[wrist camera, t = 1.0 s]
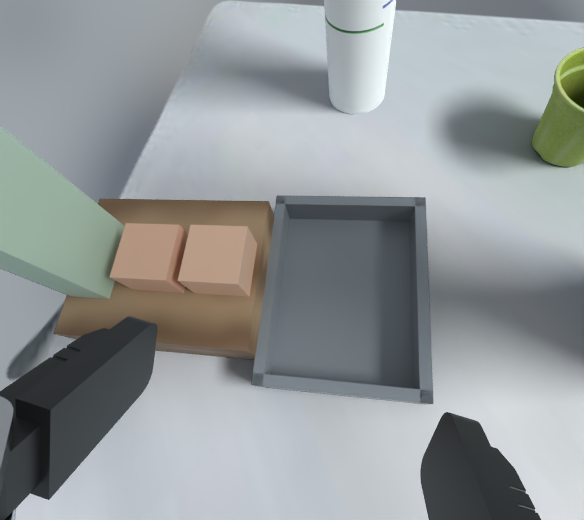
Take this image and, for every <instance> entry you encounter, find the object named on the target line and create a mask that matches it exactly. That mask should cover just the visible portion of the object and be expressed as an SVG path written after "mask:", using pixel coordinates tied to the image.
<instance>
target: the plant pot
mask: <svg viewBox="0 0 584 520" xmlns="http://www.w3.org/2000/svg"><path fill="white" fill-rule="evenodd" d="M552 92H553V93H552V95H551V97H550V100H549V102H548V104H547V106H546V109H545V111H544V113H543V116H542V118H541V120H540V122H539V124H538V126H537V128H536V130H535V133H534V135H533V137H532V146H533V148H534V150H536V151H537V152H538V153H539V154H540V156H541V157H542V159H543V160H545V161H546V162H548V163H551V164H553V165H557V166H563V167H572V166H576V165H578V164H581V163H584V47H583V48H580V49H577V50H575V51H573V52H571V53H570V54H568V55H567V56H565V57H564V58H563V59H562V60H561V62H560V63H559V65H558V66H557V68H556V71H555V75H554V85H553V91H552Z"/></svg>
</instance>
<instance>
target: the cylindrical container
mask: <svg viewBox="0 0 584 520" xmlns="http://www.w3.org/2000/svg"><path fill="white" fill-rule="evenodd" d="M324 5H325V24H326V42H327V61H328V80H329V97H330V101H331V103H332V105H333V106H334V107H335V108H336V109H338V110H339V111H341V112H344V113H347V114H362V113H366V112H369V111H371V110H373V109H375V108H376V107H377V106H378V105H379V104H380V103H381V102H382V100H383V98H384V95H385V87H386V79H387V71H388V62H389V54H390V46H391V38H392V30H393V22H394V14H395V6H396V0H324Z"/></svg>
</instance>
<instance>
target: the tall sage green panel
mask: <svg viewBox="0 0 584 520" xmlns="http://www.w3.org/2000/svg"><path fill="white" fill-rule="evenodd" d="M124 227H125V226H124V225H123V224H122V223H120V222H119V221H118V220H117V219H115V218H114V217H113V216H112V215H110V214H109V213H108V212H107V211H106V210H104V209H103V208H102V207H101V206H99V205H98V204H97V203H96V202H94V201H93V200H92V199H91V198H89V197H88V196H87V195H86V194H84V193H83V192H82V191H81V190H79V189H78V188H77V187H76V186H74V185H73V184H72V183H71V182H70V181H68V180H67V179H66V178H65V177H63V176H62V175H61V174H60V173H58V172H57V171H56V170H55V169H53V168H52V167H51V166H50V165H48V164H47V163H46V162H45V161H43V160H42V159H41V158H40V157H38V156H37V155H36V154H35V153H34V152H32V151H31V150H30V149H29V148H27V147H26V146H25V145H24V144H22V143H21V142H20V141H19V140H18V139H16V138H15V137H14V136H13V135H11V134H10V133H9V132H8V131H6V130H5V129H4V128H3V127H1V126H0V269H3V270H5V271H8V272H10V273H13V274H15V275H18V276H20V277H23V278H25V279H28V280H31V281H33V282H36V283H38V284H41V285H43V286H46V287H48V288H51V289H53V290H56V291H59V292H61V293H64V294H66V295H69V296H72V297H87V298H101V299H110V296H111V293H112V289H113V286H114V283H115V280H114V279H112V278H110V273H111V270H112V267H113V264H114V260H115V257H116V254H117V250H118V247H119V244H120V241H121V237H122V234H123V231H124Z"/></svg>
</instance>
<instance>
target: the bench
mask: <svg viewBox="0 0 584 520" xmlns="http://www.w3.org/2000/svg"><path fill="white" fill-rule="evenodd" d="M98 205H99V206H101V207H102V208H103V209H104V210H106V211H107V212H108V213H109V214H110V215H112V216H113V217H114V218H115V219H117V220H118V221H119V222H120V223H122V224H123V225H124V226H125V224H126V223H137V224H172V225H180V226H181V227H182V228H183V229H184V230H185V232H186V233H187V234H189V229H190V225H219V226H248V228H249V230H250V232H251V233H252V235H253V237H254V239H255V241H256V242H257V249H256V256H255V263H254V269H253V276H252V283H251V289H250V296H249V297H245V296H229V295H213V294H197V293H194V292H192V291H191V290H190V289H188V288H187V287H185V290H184V293H175V292H160V291H144V290H132V289H130V288H128V287H127V286H125V285H123V284H121V283H119V282H117V281H115V283H114V286H113V289H112V293H111V296H110V299H101V298H87V297H72V296H69V295H67V297H66V299H65V302H64V305H63V308H62V311H61V314H60V317H59V320H58V323H57V325H56V328H55V331H54V334H57V335H61V336H65V337H69V338H74V339H78V338H79V337H81V336H82V335H84V334H87V333H90V332H93V331H96V330H99V329H102V328H107V329H111V328H112V327H114V326H115V325H116V324H118V323H119V322H120V321H122V320H123V319H125V318H126V317H128V316H132V317H135V318H138V319H142V320H145V321H148V322H152V323H155V324H156V325H157V339H156V347H155V350H156V351H167V352H177V353H188V354H199V355H210V356H220V357H231V358H242V359H253V360H255V355H256V348H257V341H258V333H259V326H260V319H261V311H262V304H263V296H264V289H265V282H266V274H267V267H268V260H269V252H270V245H271V238H272V230H273V223H274V215H273V212H272V209H271V207H270V204H269V201H207V200H144V199H100V200H99V203H98Z"/></svg>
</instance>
